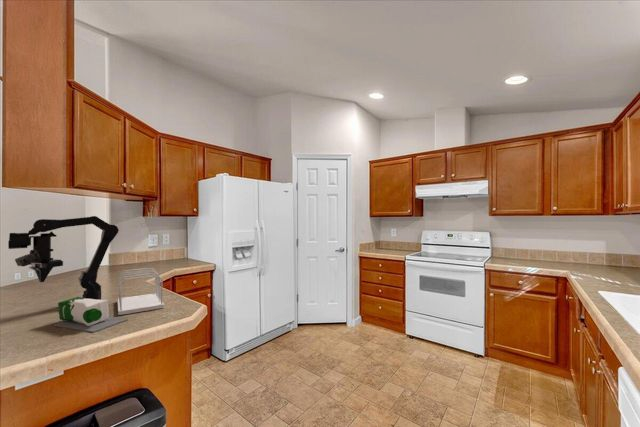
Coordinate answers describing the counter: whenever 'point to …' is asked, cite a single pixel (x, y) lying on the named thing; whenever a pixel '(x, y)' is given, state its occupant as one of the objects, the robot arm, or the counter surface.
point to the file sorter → (142, 301)
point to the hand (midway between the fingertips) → (41, 282)
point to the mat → (93, 328)
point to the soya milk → (83, 310)
